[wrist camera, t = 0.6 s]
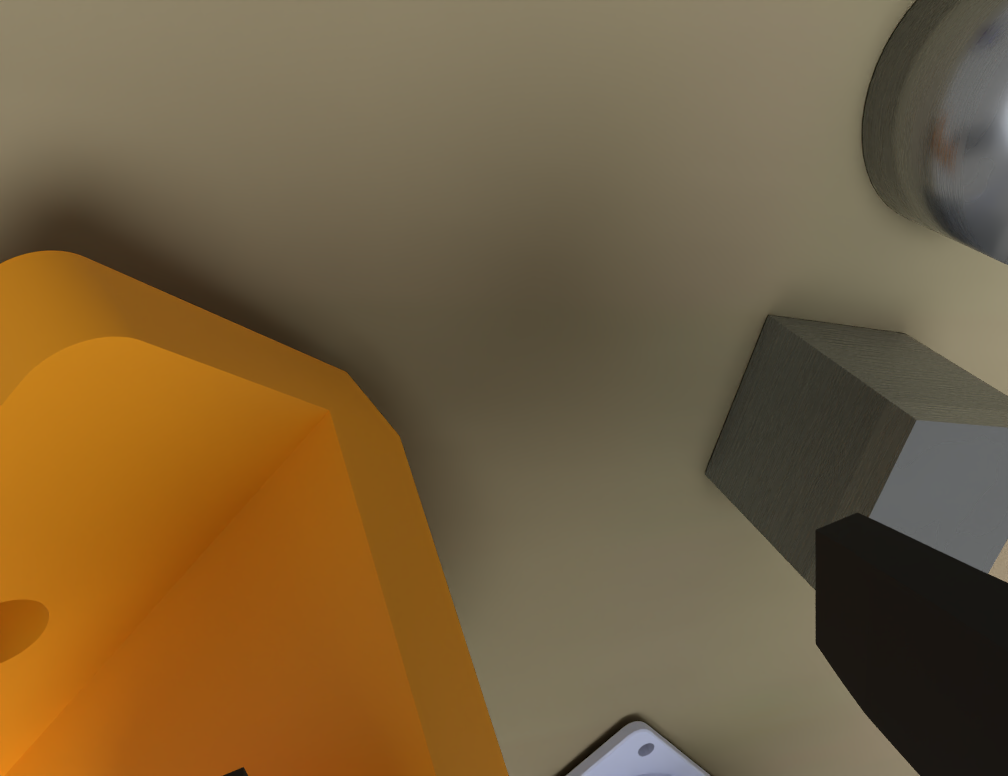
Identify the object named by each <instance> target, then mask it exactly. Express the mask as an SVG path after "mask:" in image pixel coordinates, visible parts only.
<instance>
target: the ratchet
mask: <svg viewBox="0 0 1008 776" xmlns="http://www.w3.org/2000/svg"><path fill="white" fill-rule="evenodd" d="M863 150H864V158H865V163H866V167H867V171H868V174H869V176H870V179H871V182H872V184H873V186H874V188H875V189H876V191H877V193H878V195H879V196H880V197H881V198H882V200H883V201H884V202H885V203H886V204H887V205H888V206H889V207H890V208H891V209H893V210H894V211H895V212H896V213H898V214H900V215H902V216H904V217H906V218H908V219H910V220H912V221H914V222H916V223H918V224H921V225H923V226H925V227H927V228H929V229H931V230H933V231H936V232H938V233H940V234H942V235H944V236H946V237H949V238H951V239H953V240H955V241H957V242H959V243H961V244H964V245H966V246H968V247H970V248H972V249H974V250H977V251H979V252H981V253H983V254H985V255H987V256H989V257H992V258H994V259H996V260H998V261H1000V262H1002V263H1005V264H1007V265H1008V0H918V1H917V2H916V3H915V4H914V5H913V6H912V8H911V9H910V10H909V11H908V12H907V14H906V15H905V17H904V18H903V20H902V21H901V22H900V24H899V25H898V27H897V28H896V30H895V31H894V33H893V35H892V37H891V38H890V40H889V42H888V44H887V45H886V47H885V49H884V52H883V54H882V56H881V58H880V60H879V63H878V65H877V67H876V70H875V73H874V76H873V79H872V82H871V84H870V88H869V92H868V96H867V100H866V105H865V112H864V119H863Z"/></svg>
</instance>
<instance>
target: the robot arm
mask: <svg viewBox="0 0 1008 776" xmlns="http://www.w3.org/2000/svg"><path fill="white" fill-rule="evenodd" d="M815 565H816V645H817V646H818V648H819V649H820V650H821V652H822V653H823V655H824V656H825V658H826V659H827V661H828V662H829V664H830V665H831V667H832V668H833V669H834V671H835V672H836V674H837V675H838V677H839V678H840V680H841V681H842V683H843V684H844V685H845V687H846V688H847V689H848V691H849V692H850V694H851V695H852V696H853V698H854V699H855V700H856V702H857V703H858V705H859V706H860V707H861V709H862V710H863V711H864V713H865V714H866V715H867V716H868V718H869V719H870V720H871V721H872V722H873V723H874V724H875V726H876V727H877V728H878V729H879V730H880V731H881V732H882V733H883V735H884V736H885V737H886V738H887V739H888V740H889V741H890V742H891V744H892V745H893V746H894V747H895V748H896V749H897V750H898V751H899V753H900V754H901V755H902V756H903V757H904V758H905V759H906V760H907V762H908V763H909V764H910V765H911V766H912V767H913V768H914V769H915V770H916V772H917V773H918V774H919V775H920V776H1008V583H1007V582H1004V581H1002V580H1000V579H998V578H996V577H994V576H991V575H989V574H987V573H985V572H983V571H981V570H978V569H976V568H974V567H972V566H970V565H968V564H966V563H964V562H962V561H959V560H957V559H955V558H953V557H951V556H949V555H947V554H945V553H943V552H940V551H938V550H936V549H934V548H932V547H930V546H928V545H926V544H924V543H922V542H920V541H917V540H915V539H913V538H911V537H909V536H907V535H905V534H903V533H901V532H899V531H897V530H894V529H892V528H890V527H888V526H886V525H884V524H882V523H880V522H877V521H875V520H873V519H871V518H869V517H867V516H864V515H862V514H860V513H858V512H857V513H855V514H852V515H850V516H848V517H845V518H843V519H840V520H838V521H835V522H833V523H831V524H828V525H826V526H823V527H821V528H819V529H816V530H815ZM223 776H248V774H247V772H246V771H245V769H244V767H242V768H240V769H237V770H235V771H232V772H230V773H228V774H225V775H223ZM566 776H711V775H709V774H708V773H707V772H706V771H704V770H703V769H702V768H701V767H699V766H698V765H697V764H696V763H694V762H693V761H692V760H691V759H689V758H688V757H687V756H686V755H684V754H683V753H682V752H681V751H680V750H678V749H677V748H676V747H675V746H673V745H672V744H671V743H670V742H668V741H667V740H666V739H665V738H663V737H662V736H661V735H660V734H658V733H657V732H656V731H655V730H653V729H652V728H651V727H650V726H648V725H647V724H646V723H644V722H642V721H634V722H631V723H629V724H627V725H626V726H624V727H623V728H622V729H621V730H619V731H618V732H617V733H616V734H615V735H613V736H612V737H611V738H610V739H609V740H608V741H606V742H605V743H604V744H603V745H602V746H600V747H599V748H598V749H597V750H596V751H594V752H593V753H592V754H591V755H590V756H589V757H587V758H586V759H585V760H584V761H583V762H581V763H580V764H579V765H578V766H577V767H575V768H574V769H573V770H572V771H571V772H570V773H568V774H567V775H566Z"/></svg>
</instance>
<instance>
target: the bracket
mask: <svg viewBox="0 0 1008 776" xmlns="http://www.w3.org/2000/svg"><path fill="white" fill-rule="evenodd" d="M242 767H244V769H245V771H246V772H247V774H248V776H509V775H508V772H507V769H506V766H505V763H504V760H503V756H502V753H501V750H500V747H499V744H498V741H497V738H496V735H495V732H494V728H493V725H492V722H491V719H490V716H489V713H488V710H487V707H486V703H485V700H484V697H483V694H482V691H481V688H480V685H479V682H478V679H477V675H476V672H475V669H474V666H473V663H472V660H471V657H470V654H469V651H468V647H467V644H466V641H465V638H464V635H463V632H462V629H461V626H460V623H459V619H458V616H457V613H456V610H455V607H454V604H453V601H452V598H451V595H450V591H449V588H448V585H447V582H446V579H445V576H444V573H443V570H442V567H441V563H440V560H439V557H438V554H437V551H436V548H435V545H434V542H433V539H432V535H431V532H430V529H429V526H428V523H427V520H426V517H425V514H424V511H423V507H422V504H421V501H420V498H419V495H418V492H417V489H416V486H415V483H414V479H413V476H412V473H411V470H410V467H409V464H408V461H407V458H406V455H405V451H404V448H403V445H402V442H401V439H400V436H399V435H398V434H397V432H396V431H395V430H394V429H393V428H392V426H391V425H390V424H389V423H388V422H387V420H386V419H385V418H384V417H383V415H382V414H381V413H380V412H379V411H378V409H377V408H376V407H375V406H374V405H373V403H372V402H371V401H370V400H369V399H368V397H367V396H366V395H365V394H364V393H363V391H362V390H361V389H360V388H359V386H358V385H357V384H356V383H355V382H354V380H353V379H352V378H351V377H350V376H349V374H348V373H347V372H345V371H343V370H341V369H338V368H336V367H334V366H332V365H329V364H327V363H325V362H322V361H320V360H318V359H316V358H313V357H311V356H309V355H307V354H304V353H302V352H300V351H297V350H295V349H293V348H291V347H288V346H286V345H284V344H282V343H279V342H277V341H275V340H272V339H270V338H268V337H266V336H263V335H261V334H259V333H257V332H254V331H252V330H250V329H247V328H245V327H243V326H241V325H238V324H236V323H234V322H232V321H229V320H227V319H225V318H222V317H220V316H218V315H216V314H213V313H211V312H209V311H207V310H204V309H202V308H200V307H197V306H195V305H193V304H191V303H188V302H186V301H184V300H182V299H179V298H177V297H175V296H172V295H170V294H168V293H166V292H163V291H161V290H159V289H157V288H154V287H152V286H150V285H148V284H145V283H143V282H141V281H138V280H136V279H134V278H132V277H129V276H127V275H125V274H123V273H120V272H118V271H116V270H113V269H111V268H109V267H107V266H104V265H102V264H100V263H98V262H95V261H93V260H91V259H88V258H86V257H84V256H81V255H78V254H75V253H71V252H65V251H38V252H32V253H27V254H23V255H20V256H17V257H14V258H11V259H9V260H7V261H5V262H2V263H1V264H0V776H223V775H225V774H228V773H230V772H232V771H235V770H237V769H240V768H242Z"/></svg>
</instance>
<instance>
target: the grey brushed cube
mask: <svg viewBox="0 0 1008 776" xmlns="http://www.w3.org/2000/svg"><path fill="white" fill-rule="evenodd" d="M705 475H706V476H707V477H708V478H709V479H710V480H711V481H712V482H713V483H714V484H715V485H716V486H717V488H718V489H719V490H720V491H721V492H722V493H723V494H724V495H725V496H726V497H727V498H728V499H729V500H730V501H731V502H732V503H733V504H734V505H735V506H736V507H737V508H738V510H739V511H740V512H741V513H742V514H743V515H744V516H745V517H746V518H747V519H748V520H749V521H750V522H751V523H752V524H753V525H754V526H755V527H756V528H757V529H758V531H759V532H760V533H761V534H762V535H763V536H764V537H765V538H766V539H767V540H768V541H769V542H770V543H771V544H772V545H773V546H774V547H775V548H776V549H777V550H778V551H779V553H780V554H781V555H782V556H783V557H784V558H785V559H786V560H787V561H788V562H789V563H790V564H791V565H792V566H793V567H794V568H795V569H796V570H797V571H798V572H799V574H800V575H801V576H802V577H803V578H804V579H805V580H806V581H807V582H808V583H809V584H810V585H811V586H812V587H813V588H814V589H815V590H816V565H815V530H816V529H819V528H821V527H823V526H826V525H828V524H831V523H833V522H835V521H838V520H840V519H843V518H845V517H848V516H850V515H852V514H855V513H857V512H858V513H860V514H862V515H864V516H867V517H869V518H871V519H873V520H875V521H877V522H880V523H882V524H884V525H886V526H888V527H890V528H892V529H894V530H897V531H899V532H901V533H903V534H905V535H907V536H909V537H911V538H913V539H915V540H917V541H920V542H922V543H924V544H926V545H928V546H930V547H932V548H934V549H936V550H938V551H940V552H943V553H945V554H947V555H949V556H951V557H953V558H955V559H957V560H959V561H962V562H964V563H966V564H968V565H970V566H972V567H974V568H976V569H978V570H981V571H983V572H985V573H987V574H988V573H989V571H990V569H991V567H992V566H993V564H994V562H995V560H996V559H997V557H998V555H999V553H1000V551H1001V550H1002V548H1003V546H1004V544H1005V543H1006V541H1007V539H1008V396H1007V395H1005V394H1003V393H1002V392H1000V391H998V390H997V389H995V388H994V387H992V386H990V385H989V384H987V383H985V382H984V381H982V380H980V379H979V378H977V377H976V376H974V375H972V374H971V373H969V372H967V371H966V370H964V369H962V368H961V367H959V366H957V365H956V364H954V363H953V362H951V361H949V360H948V359H946V358H944V357H943V356H941V355H939V354H938V353H936V352H935V351H933V350H931V349H930V348H928V347H926V346H925V345H923V344H921V343H920V342H918V341H917V340H915V339H913V338H912V337H910V336H908V335H907V334H904V333H897V332H889V331H882V330H875V329H867V328H860V327H853V326H845V325H838V324H830V323H823V322H816V321H808V320H801V319H794V318H786V317H779V316H771V315H768V318H767V320H766V323H765V325H764V328H763V330H762V333H761V335H760V338H759V340H758V343H757V345H756V348H755V350H754V353H753V355H752V358H751V360H750V363H749V365H748V368H747V370H746V373H745V375H744V378H743V380H742V383H741V385H740V388H739V390H738V393H737V395H736V398H735V400H734V402H733V405H732V407H731V410H730V412H729V415H728V417H727V420H726V422H725V425H724V427H723V430H722V432H721V435H720V437H719V440H718V442H717V445H716V447H715V450H714V452H713V455H712V457H711V460H710V462H709V465H708V467H707V470H706V472H705Z"/></svg>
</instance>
